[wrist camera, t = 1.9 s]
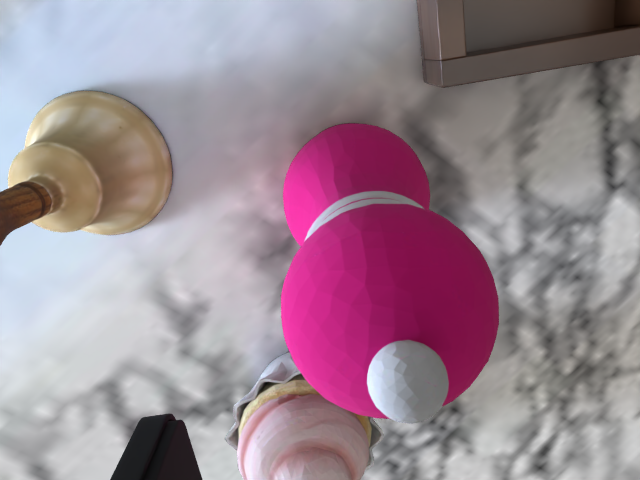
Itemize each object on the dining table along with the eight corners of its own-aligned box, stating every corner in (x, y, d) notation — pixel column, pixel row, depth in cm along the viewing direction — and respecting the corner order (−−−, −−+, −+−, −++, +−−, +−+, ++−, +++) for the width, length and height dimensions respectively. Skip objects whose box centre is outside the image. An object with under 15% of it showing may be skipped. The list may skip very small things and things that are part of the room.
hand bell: (16, 207, 29) (-295, 368, 14) (38, 67, 27) (-316, 86, 12) (154, 251, 30) (-2, 444, 15) (189, 121, 28) (41, 203, 13)
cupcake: (214, 410, 35) (177, 542, 25) (275, 305, 32) (259, 410, 22) (332, 459, 36) (338, 601, 27) (400, 363, 33) (433, 485, 24)
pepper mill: (295, 241, 30) (264, 548, 12) (279, 121, 28) (207, 263, 9) (414, 229, 30) (579, 521, 11) (409, 106, 28) (611, 222, 9)
